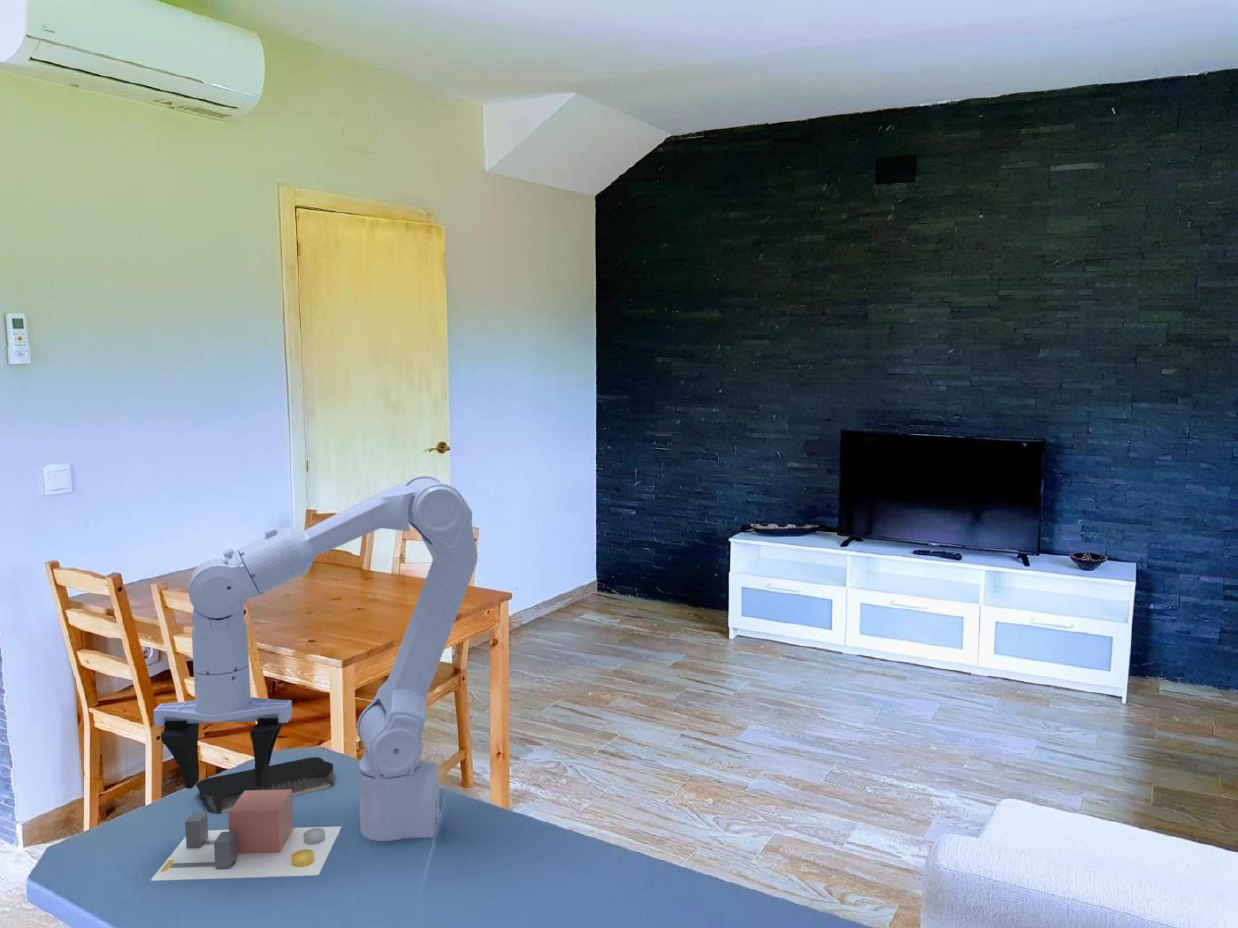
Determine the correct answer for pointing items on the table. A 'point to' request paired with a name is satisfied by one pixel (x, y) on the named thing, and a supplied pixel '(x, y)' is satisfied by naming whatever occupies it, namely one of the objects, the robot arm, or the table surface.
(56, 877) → the table surface
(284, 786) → the black brush
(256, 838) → the reddish pink block
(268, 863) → the breaker panel
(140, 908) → the table surface
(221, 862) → the handle
